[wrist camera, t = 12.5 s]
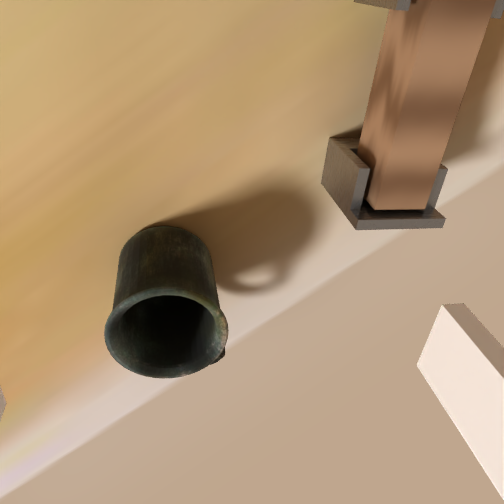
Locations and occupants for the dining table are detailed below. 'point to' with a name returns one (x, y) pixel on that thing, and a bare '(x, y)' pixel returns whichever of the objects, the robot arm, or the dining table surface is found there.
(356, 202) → the bracket
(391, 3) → the bracket
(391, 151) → the rail
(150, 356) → the mug
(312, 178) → the dining table surface
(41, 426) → the dining table surface
